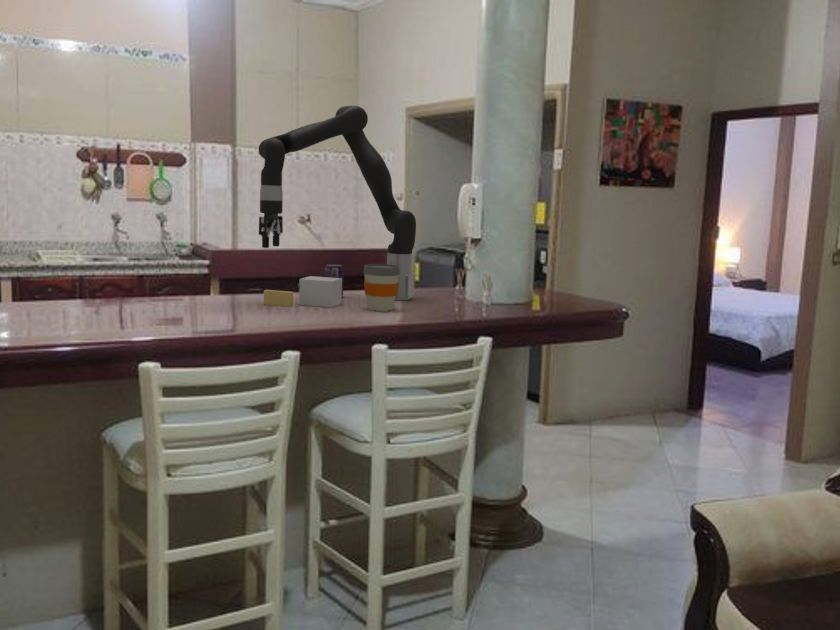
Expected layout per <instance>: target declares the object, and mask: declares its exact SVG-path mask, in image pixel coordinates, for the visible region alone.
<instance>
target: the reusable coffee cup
mask: <svg viewBox="0 0 840 630" xmlns="http://www.w3.org/2000/svg"><path fill="white" fill-rule="evenodd" d="M362 273H363V274H364V275H363V276H364V281H363V285H364V295H365V297H366V306H367V307H366V308H367V310H370V311H374V310H376V311H375V312H389V311H388V310H391V311H393V310H394V308H395V302H396V301H395V296H397V291H398V285H399V283H398V278H399V275H400V268H399V266H397V265H389V264H387V263H386V264H385V263H367V264H364V267H363V272H362Z"/></svg>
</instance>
